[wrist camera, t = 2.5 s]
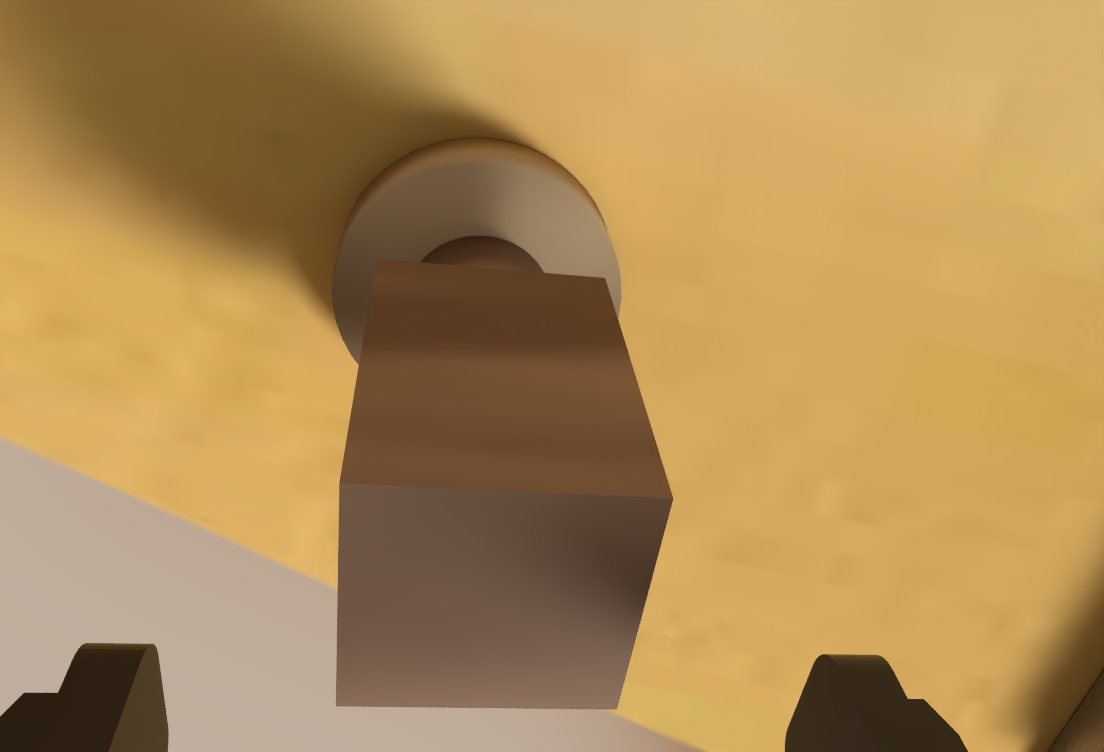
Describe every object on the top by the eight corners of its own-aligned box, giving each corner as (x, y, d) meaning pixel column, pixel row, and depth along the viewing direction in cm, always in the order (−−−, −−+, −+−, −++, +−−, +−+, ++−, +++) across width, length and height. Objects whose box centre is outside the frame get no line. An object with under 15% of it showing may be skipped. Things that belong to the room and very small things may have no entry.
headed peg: (341, 123, 18) (246, 406, 10) (633, 153, 19) (772, 437, 11) (338, 374, 21) (264, 750, 13) (588, 390, 22) (668, 752, 14)
